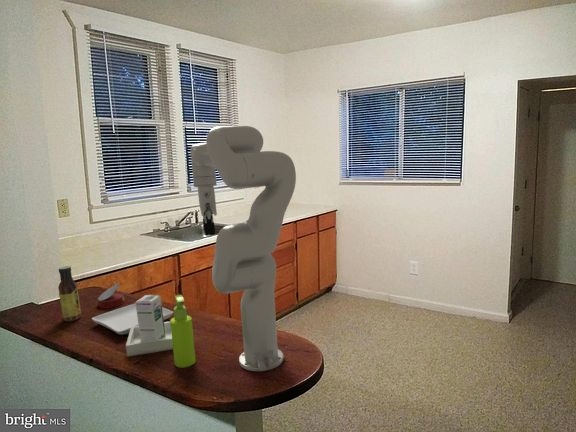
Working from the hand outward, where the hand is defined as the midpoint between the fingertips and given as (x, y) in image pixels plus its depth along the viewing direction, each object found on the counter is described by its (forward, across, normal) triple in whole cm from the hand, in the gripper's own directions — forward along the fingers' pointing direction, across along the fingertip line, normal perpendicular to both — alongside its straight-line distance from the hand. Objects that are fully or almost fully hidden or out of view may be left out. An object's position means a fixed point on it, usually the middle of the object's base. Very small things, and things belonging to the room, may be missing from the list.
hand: (209, 232), depth 143 cm
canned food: (+33, +35, +40) cm, 62 cm away
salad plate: (+33, +11, +29) cm, 45 cm away
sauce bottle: (+32, +23, +52) cm, 65 cm away
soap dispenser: (+32, -26, +11) cm, 43 cm away
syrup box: (+32, -9, +21) cm, 39 cm away
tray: (+32, -9, +21) cm, 40 cm away
